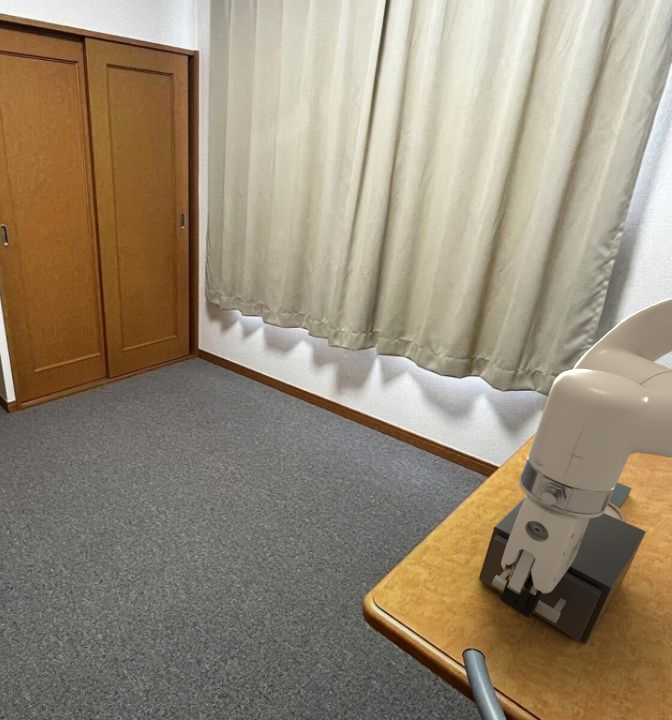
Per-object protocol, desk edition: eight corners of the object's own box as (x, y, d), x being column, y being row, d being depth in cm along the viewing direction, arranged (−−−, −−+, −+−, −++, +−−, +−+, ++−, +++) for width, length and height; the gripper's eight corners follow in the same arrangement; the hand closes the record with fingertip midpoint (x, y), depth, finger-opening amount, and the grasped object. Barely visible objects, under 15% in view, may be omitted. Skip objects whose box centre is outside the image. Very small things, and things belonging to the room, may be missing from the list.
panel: (628, 495, 83) (635, 479, 82) (612, 518, 78) (619, 501, 77) (549, 463, 92) (554, 448, 91) (530, 482, 87) (535, 466, 86)
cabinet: (585, 644, 58) (611, 588, 55) (478, 578, 68) (494, 526, 64) (621, 584, 66) (646, 531, 63) (521, 532, 76) (537, 483, 72)
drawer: (566, 660, 56) (587, 614, 53) (467, 595, 64) (479, 551, 61) (613, 585, 65) (632, 541, 62) (521, 536, 74) (534, 496, 70)
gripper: (584, 534, 44) (527, 667, 51) (628, 474, 52) (574, 595, 59) (496, 492, 49) (456, 617, 56) (549, 444, 57) (508, 558, 65)
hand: (516, 605), depth 58 cm, fingers closed
